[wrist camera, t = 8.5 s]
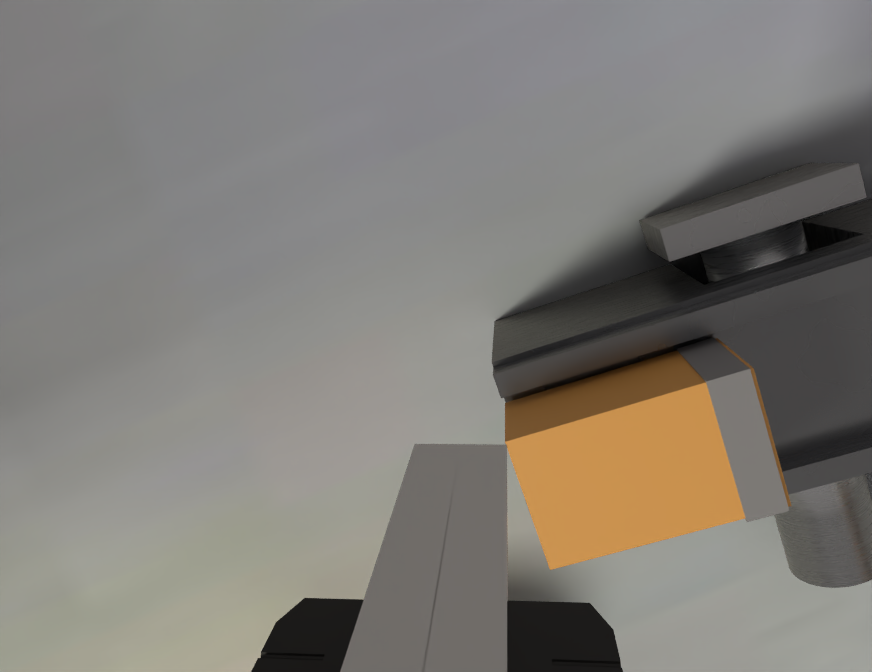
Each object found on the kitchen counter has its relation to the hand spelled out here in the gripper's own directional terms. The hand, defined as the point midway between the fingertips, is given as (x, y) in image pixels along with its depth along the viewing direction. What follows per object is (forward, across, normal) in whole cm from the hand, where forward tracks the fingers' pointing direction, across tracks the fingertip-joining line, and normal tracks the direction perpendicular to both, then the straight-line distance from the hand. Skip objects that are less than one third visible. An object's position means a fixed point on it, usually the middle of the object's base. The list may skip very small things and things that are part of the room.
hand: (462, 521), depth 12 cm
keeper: (+9, -4, +2) cm, 10 cm away
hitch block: (+15, -8, 0) cm, 17 cm away
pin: (+14, -10, +2) cm, 17 cm away
